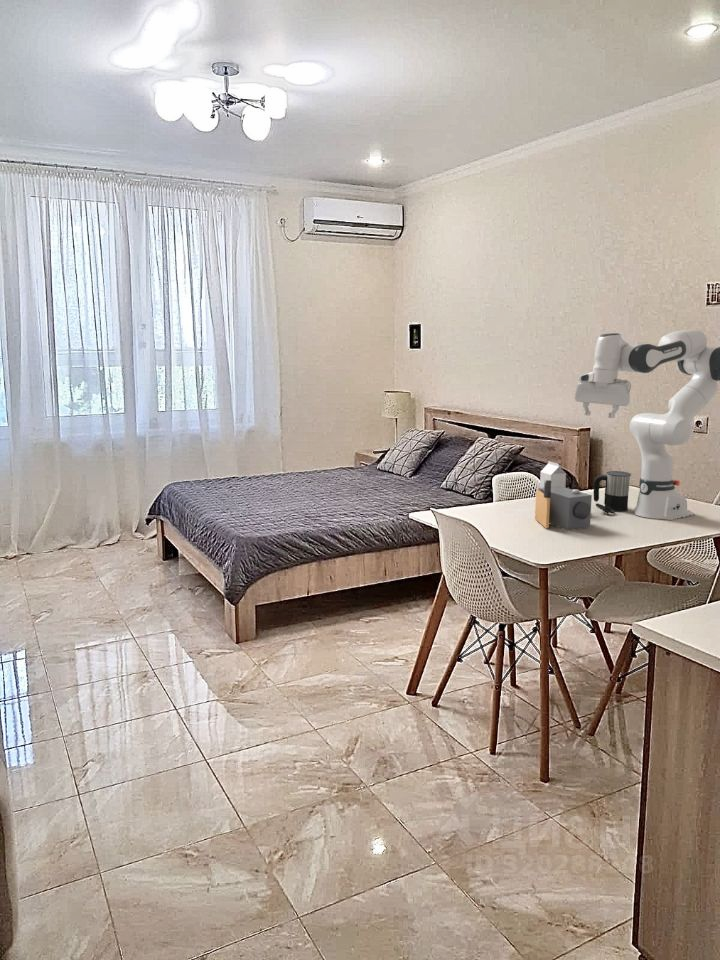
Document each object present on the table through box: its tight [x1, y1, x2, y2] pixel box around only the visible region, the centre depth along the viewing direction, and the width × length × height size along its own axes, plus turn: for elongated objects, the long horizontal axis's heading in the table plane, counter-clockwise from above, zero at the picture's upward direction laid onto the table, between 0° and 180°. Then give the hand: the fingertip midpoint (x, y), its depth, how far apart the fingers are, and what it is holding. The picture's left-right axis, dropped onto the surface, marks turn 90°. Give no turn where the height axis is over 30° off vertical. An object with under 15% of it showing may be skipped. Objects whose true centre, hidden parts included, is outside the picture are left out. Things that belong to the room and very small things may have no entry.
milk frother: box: [593, 470, 632, 515], centre depth 300 cm, size 14×16×15 cm
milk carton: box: [539, 460, 567, 488], centre depth 303 cm, size 7×7×19 cm
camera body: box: [537, 486, 593, 531], centre depth 281 cm, size 10×20×13 cm, turn 23°
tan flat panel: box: [534, 480, 551, 529], centre depth 279 cm, size 2×14×17 cm, turn 3°
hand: (599, 416), depth 276 cm, fingers open, 8 cm apart
